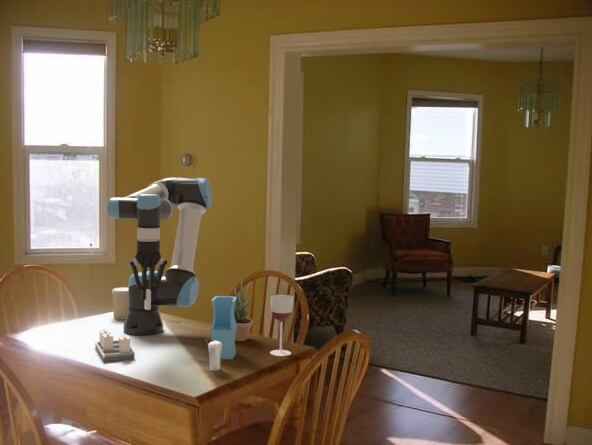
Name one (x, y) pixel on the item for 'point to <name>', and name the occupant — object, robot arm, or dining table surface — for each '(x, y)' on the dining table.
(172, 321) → the dining table surface
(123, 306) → the coffee cup
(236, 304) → the potted plant
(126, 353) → the switch bank
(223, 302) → the vase
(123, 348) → the tab
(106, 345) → the tab
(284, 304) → the wineglass
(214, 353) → the milkshake
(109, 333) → the tab
